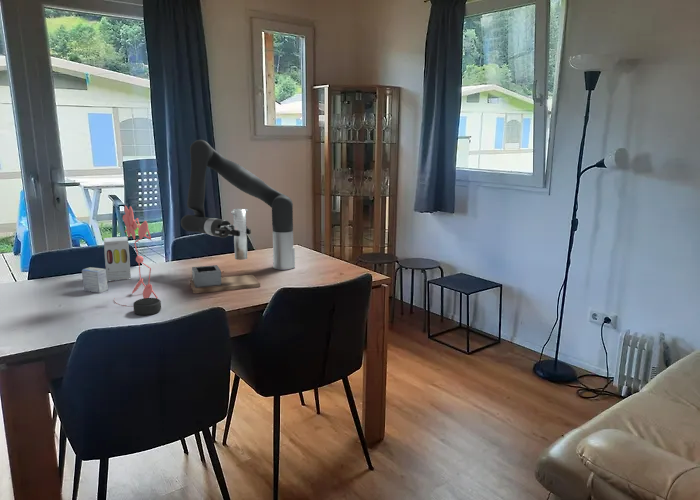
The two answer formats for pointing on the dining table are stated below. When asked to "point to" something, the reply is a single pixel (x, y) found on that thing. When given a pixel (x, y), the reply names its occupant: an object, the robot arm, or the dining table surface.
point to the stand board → (229, 284)
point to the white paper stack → (94, 279)
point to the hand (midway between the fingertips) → (244, 232)
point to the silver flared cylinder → (241, 240)
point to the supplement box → (117, 258)
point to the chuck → (206, 276)
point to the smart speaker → (147, 306)
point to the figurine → (130, 229)
